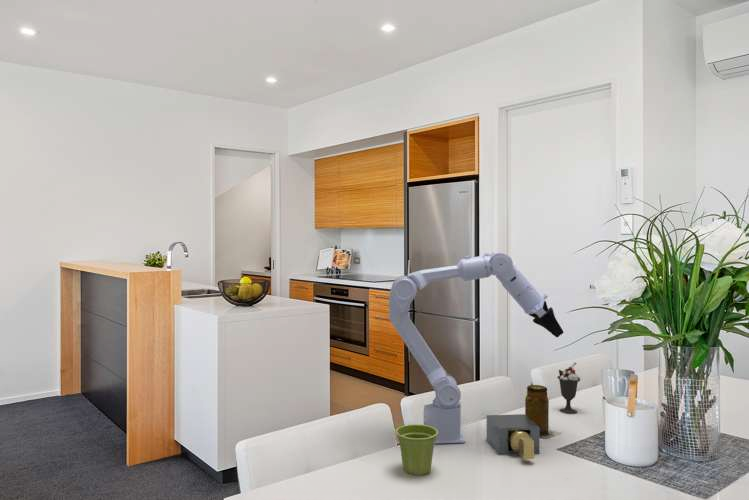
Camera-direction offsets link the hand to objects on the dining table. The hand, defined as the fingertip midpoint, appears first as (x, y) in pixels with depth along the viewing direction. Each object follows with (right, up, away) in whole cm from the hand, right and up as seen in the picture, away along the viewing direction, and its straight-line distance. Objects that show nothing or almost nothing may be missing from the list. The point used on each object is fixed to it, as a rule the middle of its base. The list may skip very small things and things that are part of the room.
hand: (557, 331), depth 139 cm
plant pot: (-37, -28, -18) cm, 50 cm away
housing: (-13, -28, -4) cm, 31 cm away
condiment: (-3, -28, +7) cm, 29 cm away
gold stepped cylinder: (-12, -27, -9) cm, 31 cm away
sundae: (+12, -28, +25) cm, 40 cm away
